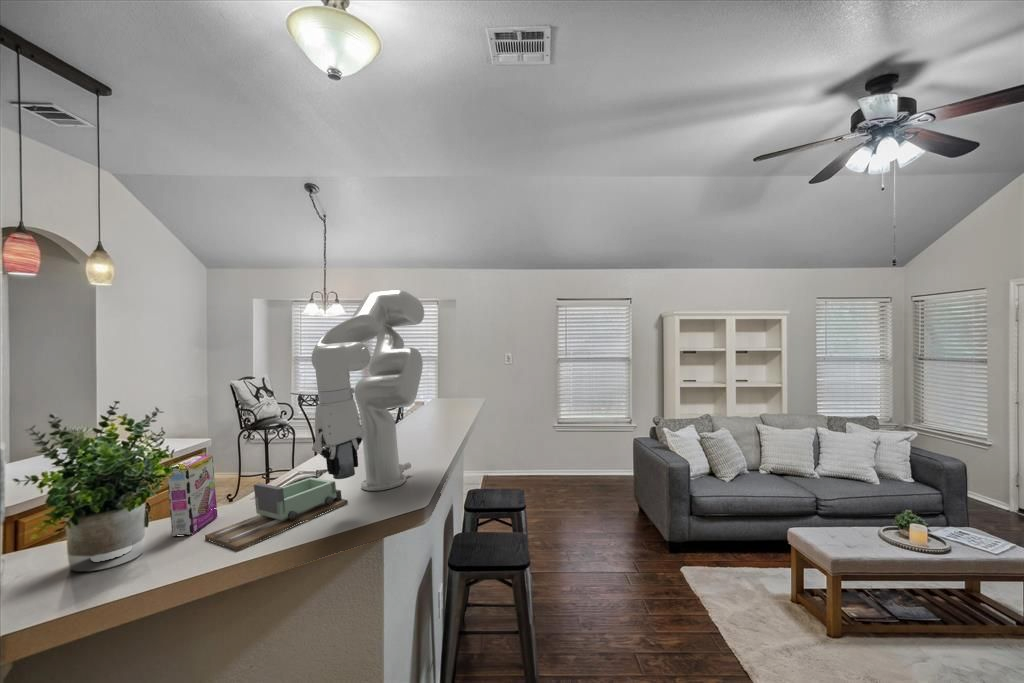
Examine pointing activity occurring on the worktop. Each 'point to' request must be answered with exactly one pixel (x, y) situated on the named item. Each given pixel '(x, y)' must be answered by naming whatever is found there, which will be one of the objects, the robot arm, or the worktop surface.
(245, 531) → the track
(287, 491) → the toy truck
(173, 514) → the candy bar box
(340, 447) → the metal cylinder
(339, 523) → the worktop surface
